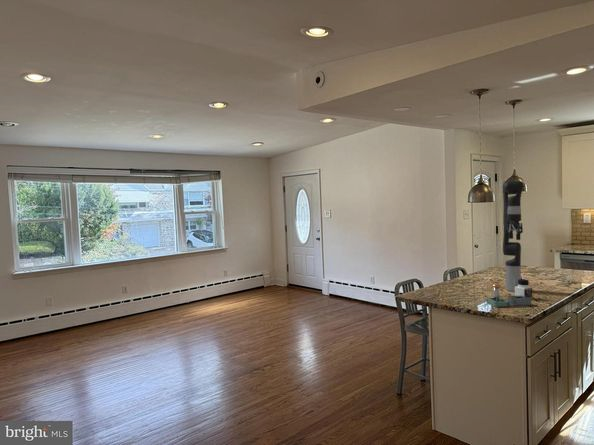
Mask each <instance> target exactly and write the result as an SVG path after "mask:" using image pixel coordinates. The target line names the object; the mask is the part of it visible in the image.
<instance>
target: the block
mask: <svg viewBox="0 0 594 445" xmlns="http://www.w3.org/2000/svg"><path fill="white" fill-rule="evenodd" d="M507 301H508V302H509V305H513V306H515V307H526V306H527V307H528V306H532V298H531V299H530V298H528V297H525V296H523V295H521V296H515V295H508V296H507Z"/></svg>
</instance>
